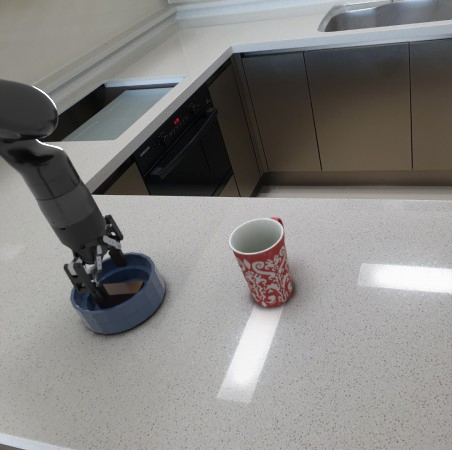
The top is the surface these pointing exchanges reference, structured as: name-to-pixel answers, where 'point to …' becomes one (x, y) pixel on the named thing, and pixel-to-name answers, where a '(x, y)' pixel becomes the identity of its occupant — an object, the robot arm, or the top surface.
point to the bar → (120, 293)
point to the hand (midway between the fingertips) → (113, 282)
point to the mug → (263, 260)
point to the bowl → (129, 310)
